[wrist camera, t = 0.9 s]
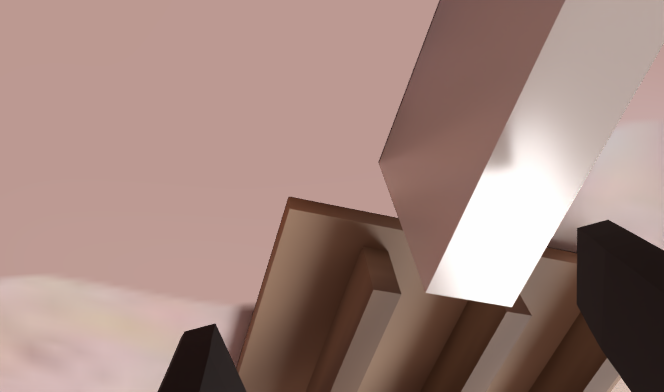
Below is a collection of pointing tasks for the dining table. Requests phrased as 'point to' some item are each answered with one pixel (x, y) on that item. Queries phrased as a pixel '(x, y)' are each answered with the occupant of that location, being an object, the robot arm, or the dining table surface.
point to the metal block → (508, 131)
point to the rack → (406, 319)
